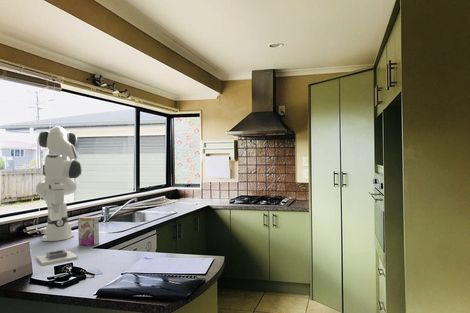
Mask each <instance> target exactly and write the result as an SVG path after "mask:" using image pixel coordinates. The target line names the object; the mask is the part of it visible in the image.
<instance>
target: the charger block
mask: <svg viewBox="0 0 470 313" xmlns="http://www.w3.org/2000/svg"><path fill="white" fill-rule="evenodd" d="M54 209H55V206H54V204H50V220H51V221H55V220H61V204H60V206H59V213H55V211H54Z"/></svg>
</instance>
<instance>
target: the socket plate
mask: <svg viewBox="0 0 470 313" xmlns="http://www.w3.org/2000/svg"><path fill="white" fill-rule="evenodd" d="M35 258H36V260H37V261H38V263H39V264H40V265H41V266H47V265H51V264H56V263H57V264H58V263H63V262H67V261H73V260H78V256H77V255H76V254H75V253H73V252H72V251H70V250H64V249H60V250H55V251H48V252H46V254H43V255H37V256H35Z"/></svg>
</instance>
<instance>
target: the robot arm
mask: <svg viewBox="0 0 470 313" xmlns="http://www.w3.org/2000/svg"><path fill="white" fill-rule="evenodd" d="M37 141H38V142H37V143H38V144H39V146H40V147H41V148H46V149H48V154H47V155H45V158H44V164H43V165H42V176H45V177H44V180H41V181H39V182H38V183H37V184H36V185H35V186H36V187H35V192H36V194H37V195H38V197H40V198H42V199H43V200H44V201H45V204H46V207H47V215H48V216H47V217H48V218H47V225H46V227H45V228H44V229H43V231H42V232H43V234H44V235H42V240H41V242H56V241H63V240H68V239H71V238H73V237H74V236H75V235H74V234H72V227H71V226H72V225H71V223H69V216H68V208H67V207H68V206H67V204H66V202H65V201H64V200H65V196H68V195H71V194H74V193H75V192H76V190H77V183H76V181H75V180H74V179H77V178H79V177H80V176H81V175H82V171H83V169H82V168H83V167H82V165H81V162H80V160H79V157H78V154H77V151H76V148H75V147H76V145H77V143H78V136H77V134H76V133H75V132H72V131H66V129H65V128H63V127H62V126H57V125H55V126H53V127H51V128H50V130H43V131H41V132H39V134H38V136H37ZM68 159H69V160H68ZM50 204H54V206H55V209H54V211H55V213H59V206H60V204H61V220H55V221H51V220H50Z"/></svg>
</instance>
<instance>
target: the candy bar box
mask: <svg viewBox="0 0 470 313" xmlns="http://www.w3.org/2000/svg"><path fill="white" fill-rule="evenodd" d="M77 226H78V228H77V229H78V230H77V231H78V245H79V246H96V245H98V244H99V245H100V234H99V233H100V229H99V228H100V227H99V216H81V217H77Z"/></svg>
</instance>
